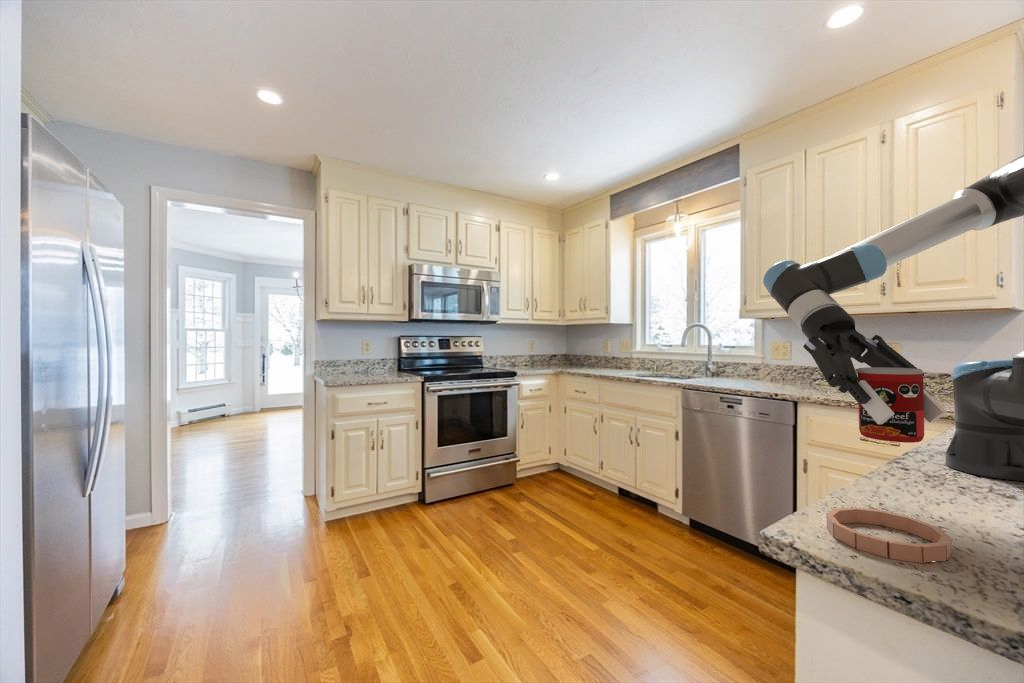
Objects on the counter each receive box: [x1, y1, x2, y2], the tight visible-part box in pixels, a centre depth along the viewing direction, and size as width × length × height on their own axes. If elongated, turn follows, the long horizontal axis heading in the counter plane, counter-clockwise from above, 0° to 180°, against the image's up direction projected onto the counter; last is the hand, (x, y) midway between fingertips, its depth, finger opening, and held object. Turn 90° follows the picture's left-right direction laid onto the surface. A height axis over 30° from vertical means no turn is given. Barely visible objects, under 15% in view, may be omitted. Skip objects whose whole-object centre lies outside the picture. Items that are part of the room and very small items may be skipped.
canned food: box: [857, 366, 925, 444], centre depth 66 cm, size 8×8×11 cm
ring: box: [826, 506, 952, 564], centre depth 58 cm, size 13×13×2 cm
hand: (912, 418), depth 62 cm, fingers closed on canned food, 8 cm apart
